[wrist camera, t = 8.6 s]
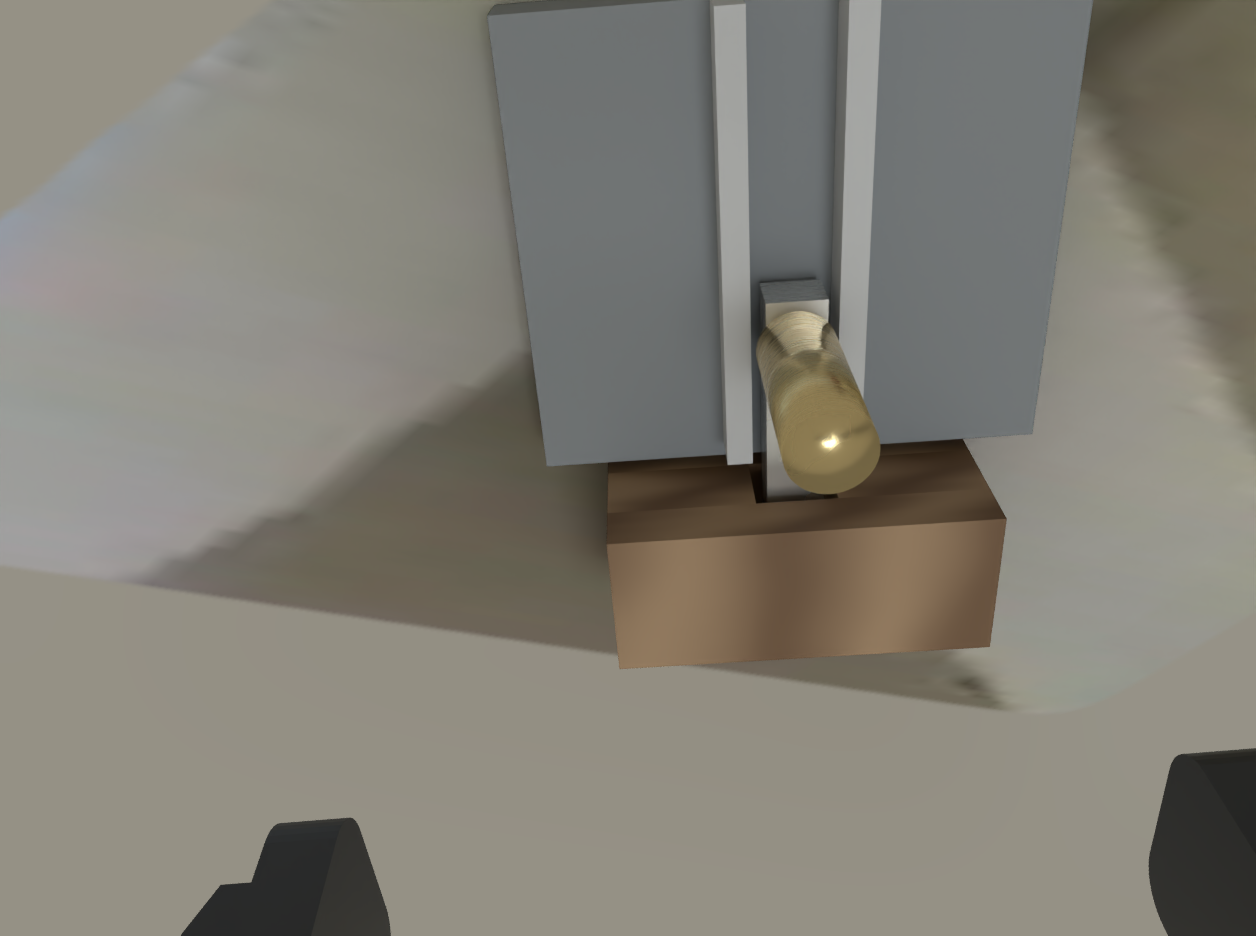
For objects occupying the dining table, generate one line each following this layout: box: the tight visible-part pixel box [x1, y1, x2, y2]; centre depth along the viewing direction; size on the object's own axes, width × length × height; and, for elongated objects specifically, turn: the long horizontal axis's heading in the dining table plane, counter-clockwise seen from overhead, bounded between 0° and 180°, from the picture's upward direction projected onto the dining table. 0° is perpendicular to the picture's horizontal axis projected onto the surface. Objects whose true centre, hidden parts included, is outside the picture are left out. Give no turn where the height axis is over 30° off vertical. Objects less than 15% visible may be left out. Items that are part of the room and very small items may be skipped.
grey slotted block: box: [487, 0, 1093, 466], centre depth 32 cm, size 16×14×4 cm
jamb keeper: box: [607, 439, 1007, 669], centre depth 36 cm, size 12×5×6 cm, turn 94°
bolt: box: [756, 279, 880, 503], centre depth 31 cm, size 2×9×8 cm, turn 4°
